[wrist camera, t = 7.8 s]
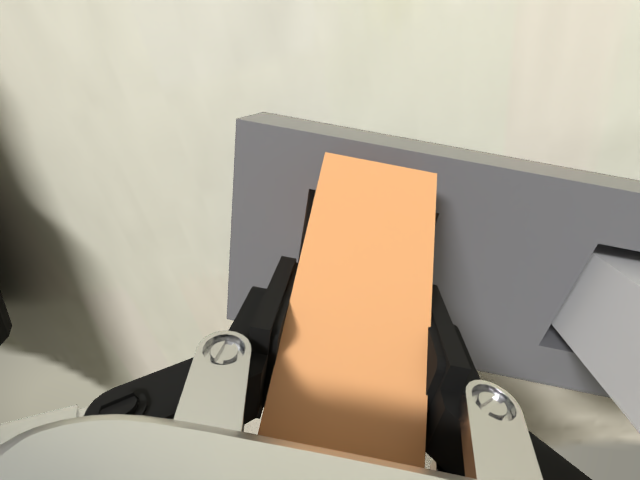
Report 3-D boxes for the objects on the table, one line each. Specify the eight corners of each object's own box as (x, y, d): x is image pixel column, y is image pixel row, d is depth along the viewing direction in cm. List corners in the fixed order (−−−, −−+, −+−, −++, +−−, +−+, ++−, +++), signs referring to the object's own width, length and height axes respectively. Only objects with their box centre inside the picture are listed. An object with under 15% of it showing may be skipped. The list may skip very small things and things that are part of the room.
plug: (437, 173, 12) (421, 536, 7) (404, 227, 15) (380, 491, 11) (325, 152, 12) (243, 496, 7) (318, 210, 15) (261, 464, 11)
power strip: (753, 201, 16) (1275, 352, 7) (634, 356, 20) (858, 575, 11) (263, 112, 17) (147, 140, 8) (249, 279, 21) (165, 423, 12)
